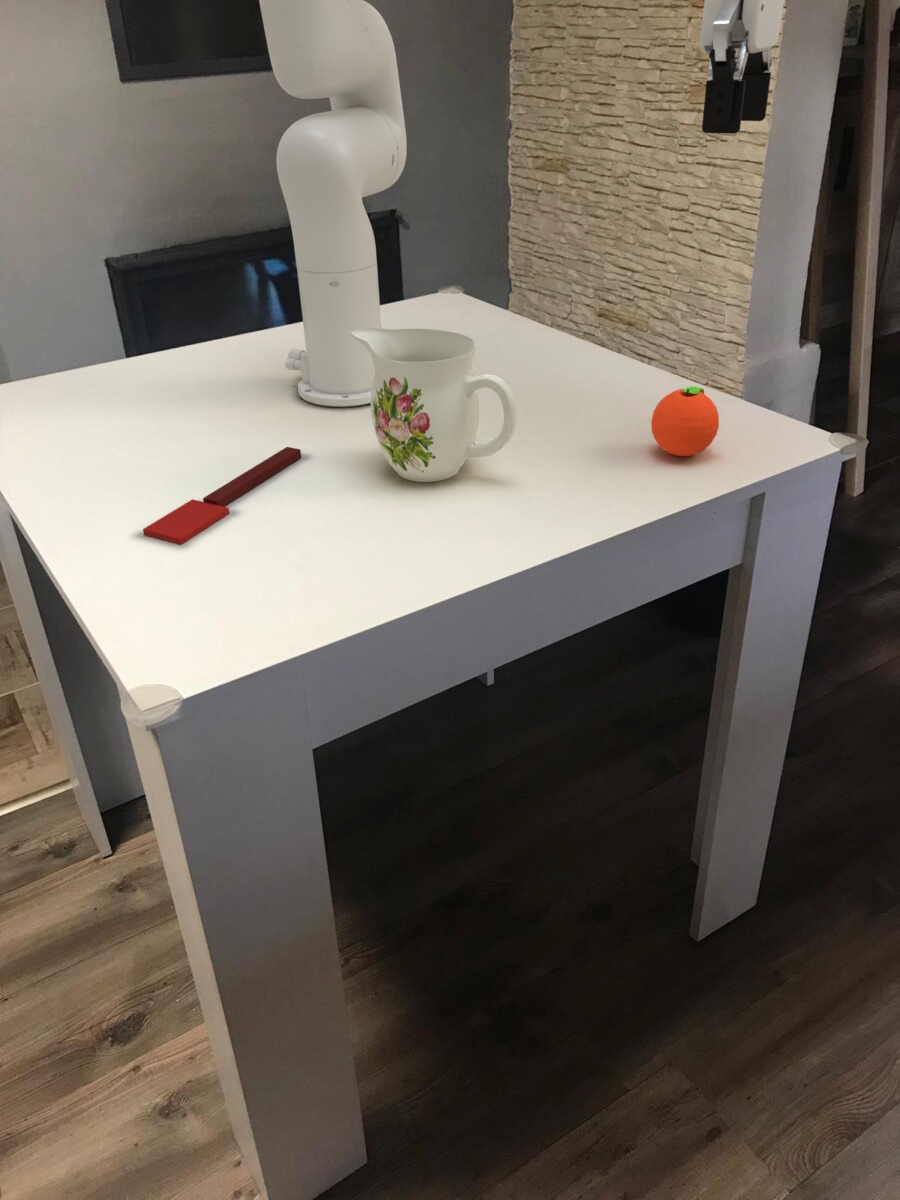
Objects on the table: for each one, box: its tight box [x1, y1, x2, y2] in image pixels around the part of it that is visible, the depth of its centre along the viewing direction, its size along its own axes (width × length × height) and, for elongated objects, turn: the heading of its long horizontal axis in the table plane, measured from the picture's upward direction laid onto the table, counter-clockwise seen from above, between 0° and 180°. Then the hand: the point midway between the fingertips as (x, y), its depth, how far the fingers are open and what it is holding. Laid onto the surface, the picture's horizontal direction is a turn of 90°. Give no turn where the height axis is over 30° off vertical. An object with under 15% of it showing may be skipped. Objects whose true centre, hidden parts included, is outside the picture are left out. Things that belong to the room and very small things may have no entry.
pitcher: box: [351, 328, 517, 483], centre depth 97 cm, size 11×18×14 cm, turn 63°
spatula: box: [142, 446, 302, 545], centre depth 97 cm, size 5×21×1 cm, turn 152°
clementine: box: [650, 386, 720, 457], centre depth 101 cm, size 8×7×7 cm
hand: (734, 126), depth 87 cm, fingers open, 9 cm apart
